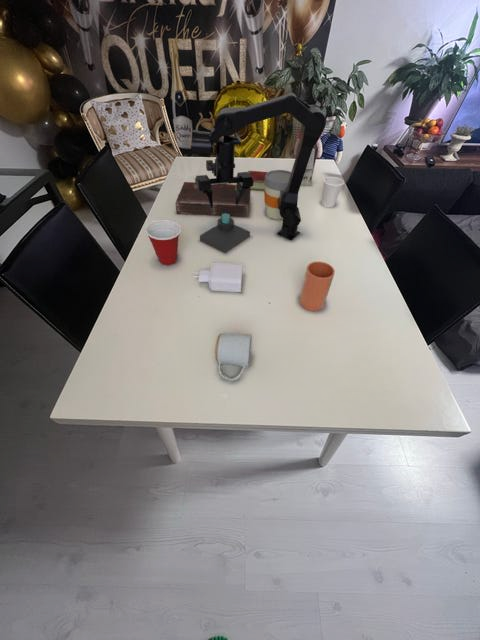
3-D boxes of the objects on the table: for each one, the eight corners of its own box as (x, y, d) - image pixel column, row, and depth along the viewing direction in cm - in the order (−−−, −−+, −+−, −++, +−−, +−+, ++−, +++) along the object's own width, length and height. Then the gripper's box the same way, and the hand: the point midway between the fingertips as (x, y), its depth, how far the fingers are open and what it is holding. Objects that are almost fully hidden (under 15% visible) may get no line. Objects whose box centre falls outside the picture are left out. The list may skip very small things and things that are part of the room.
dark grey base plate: (225, 224, 116) (224, 215, 113) (250, 236, 111) (251, 226, 108) (199, 240, 108) (198, 230, 105) (225, 253, 103) (225, 243, 100)
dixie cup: (339, 208, 127) (346, 185, 119) (319, 208, 127) (325, 184, 119) (335, 199, 132) (341, 176, 125) (316, 199, 132) (321, 175, 125)
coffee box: (311, 185, 141) (318, 148, 130) (297, 185, 141) (303, 148, 130) (308, 177, 148) (315, 141, 136) (295, 177, 148) (301, 141, 136)
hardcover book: (247, 178, 145) (248, 169, 142) (290, 181, 144) (292, 172, 141) (245, 189, 137) (245, 179, 134) (290, 192, 136) (292, 183, 133)
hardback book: (176, 214, 120) (175, 202, 117) (185, 193, 133) (184, 181, 129) (248, 217, 120) (249, 206, 116) (250, 196, 132) (250, 185, 128)
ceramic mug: (219, 344, 76) (218, 324, 70) (251, 347, 76) (253, 328, 70) (212, 380, 69) (210, 362, 63) (247, 384, 69) (248, 366, 63)
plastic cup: (178, 272, 95) (173, 239, 86) (147, 267, 97) (138, 234, 88) (189, 253, 103) (185, 221, 94) (159, 248, 104) (153, 216, 95)
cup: (306, 290, 91) (315, 258, 82) (328, 301, 88) (339, 268, 79) (294, 303, 87) (301, 270, 78) (316, 314, 84) (326, 282, 75)
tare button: (225, 218, 112) (225, 212, 110) (231, 221, 110) (231, 215, 108) (220, 222, 110) (219, 215, 108) (226, 224, 109) (226, 218, 107)
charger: (196, 271, 96) (242, 274, 95) (191, 290, 90) (240, 293, 89) (195, 259, 92) (243, 262, 92) (189, 278, 86) (241, 281, 86)
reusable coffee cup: (257, 218, 120) (260, 179, 109) (266, 204, 128) (270, 167, 117) (287, 224, 117) (294, 185, 106) (295, 209, 125) (301, 172, 114)
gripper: (244, 147, 101) (241, 193, 112) (189, 150, 96) (192, 197, 107) (256, 160, 94) (251, 207, 105) (198, 164, 89) (200, 213, 100)
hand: (224, 205), depth 105 cm, fingers open, 9 cm apart
